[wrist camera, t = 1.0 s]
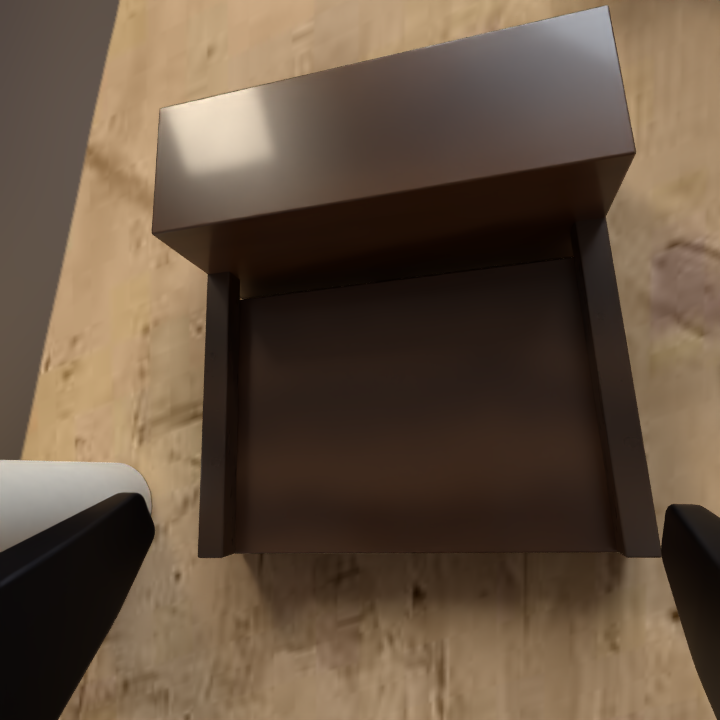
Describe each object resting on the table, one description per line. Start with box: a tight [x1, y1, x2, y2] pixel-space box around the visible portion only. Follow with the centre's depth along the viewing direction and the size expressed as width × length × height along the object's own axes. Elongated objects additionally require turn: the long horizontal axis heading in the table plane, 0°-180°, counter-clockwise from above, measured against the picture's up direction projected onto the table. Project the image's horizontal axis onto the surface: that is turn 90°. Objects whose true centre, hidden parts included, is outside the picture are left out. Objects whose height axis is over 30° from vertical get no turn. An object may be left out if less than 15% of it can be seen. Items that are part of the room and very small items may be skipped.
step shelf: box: [152, 5, 662, 558], centre depth 21 cm, size 19×18×8 cm
